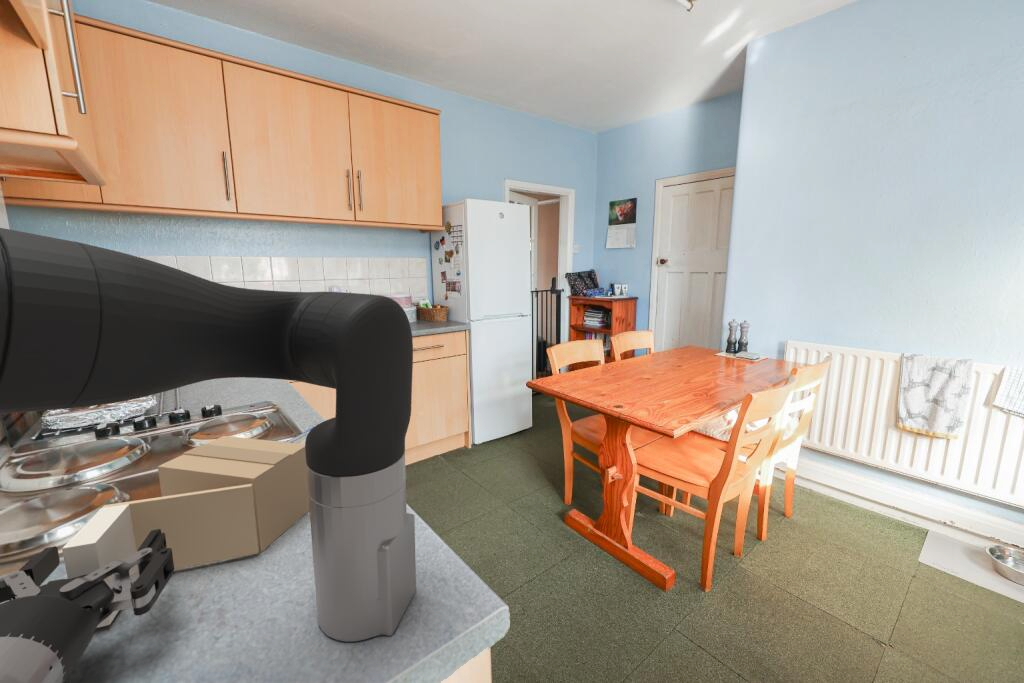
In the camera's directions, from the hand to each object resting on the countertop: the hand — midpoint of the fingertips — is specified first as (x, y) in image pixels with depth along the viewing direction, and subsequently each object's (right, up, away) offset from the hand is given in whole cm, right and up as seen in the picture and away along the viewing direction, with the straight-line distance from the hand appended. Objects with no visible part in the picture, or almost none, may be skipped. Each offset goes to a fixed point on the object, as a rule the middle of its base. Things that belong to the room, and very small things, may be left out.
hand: (107, 545), depth 44 cm
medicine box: (+10, -2, +25) cm, 27 cm away
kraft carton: (+5, -4, +15) cm, 16 cm away
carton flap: (+5, -6, +3) cm, 8 cm away
